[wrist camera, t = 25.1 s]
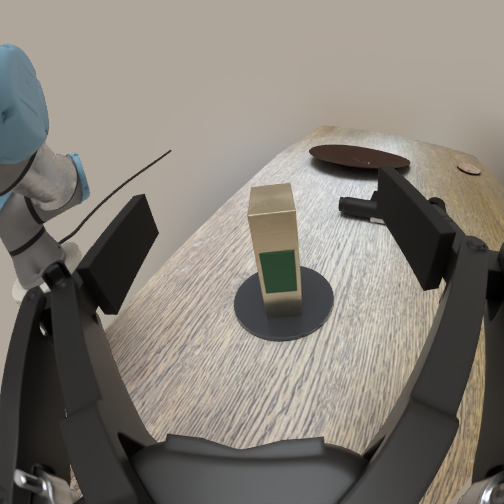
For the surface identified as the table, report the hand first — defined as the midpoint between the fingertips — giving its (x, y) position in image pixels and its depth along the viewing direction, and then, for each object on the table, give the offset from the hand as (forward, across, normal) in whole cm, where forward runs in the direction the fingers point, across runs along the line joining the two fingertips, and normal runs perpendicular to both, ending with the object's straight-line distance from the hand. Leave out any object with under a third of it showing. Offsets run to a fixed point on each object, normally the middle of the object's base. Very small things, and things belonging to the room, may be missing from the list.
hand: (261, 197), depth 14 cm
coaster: (+10, 0, -18) cm, 21 cm away
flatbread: (+49, +58, -18) cm, 78 cm away
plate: (+56, +24, -18) cm, 64 cm away
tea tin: (+10, 0, -18) cm, 20 cm away
